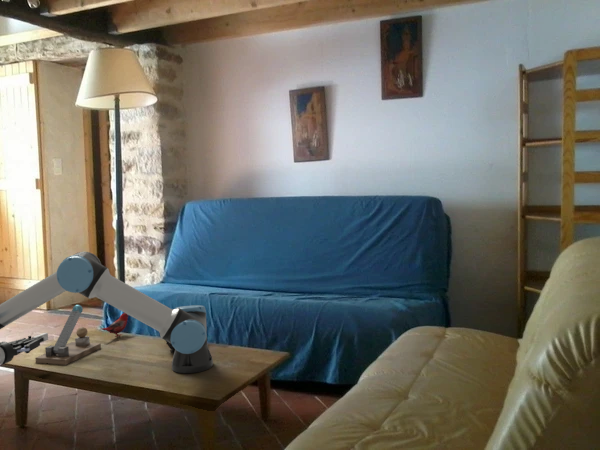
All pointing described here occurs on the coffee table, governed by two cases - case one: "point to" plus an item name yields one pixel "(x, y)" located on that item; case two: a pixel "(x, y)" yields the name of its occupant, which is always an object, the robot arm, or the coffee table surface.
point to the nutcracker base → (70, 350)
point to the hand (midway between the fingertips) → (46, 336)
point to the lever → (68, 328)
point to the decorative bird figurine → (117, 325)
